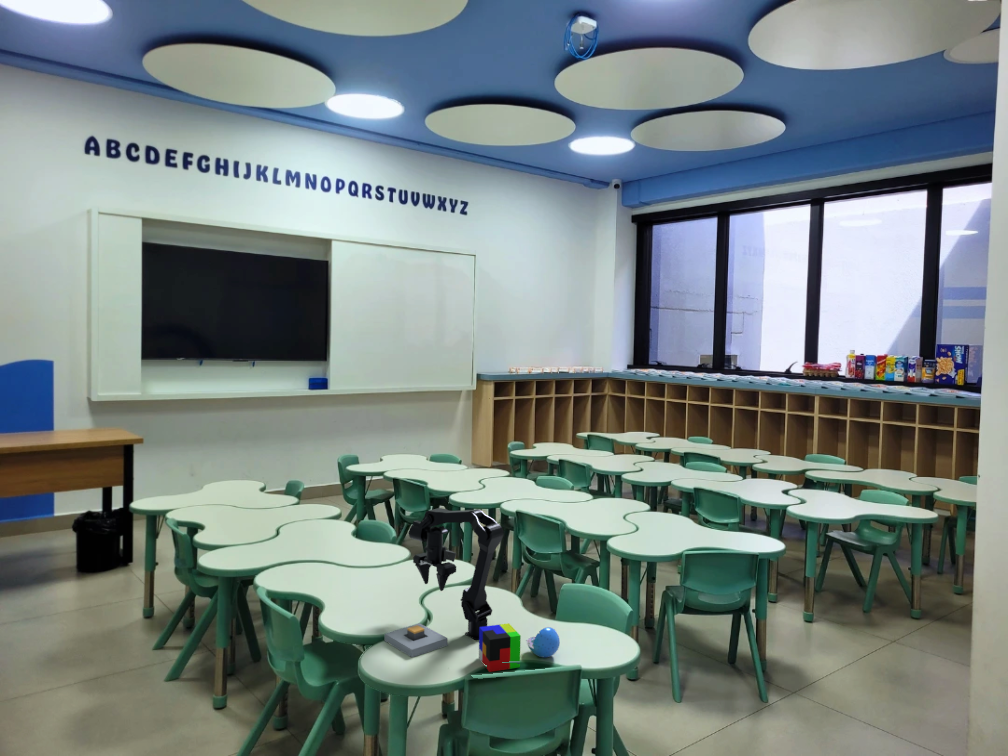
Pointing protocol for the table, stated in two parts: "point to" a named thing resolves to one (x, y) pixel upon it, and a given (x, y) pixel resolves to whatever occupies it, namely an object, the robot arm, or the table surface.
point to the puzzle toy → (499, 646)
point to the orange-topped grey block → (415, 633)
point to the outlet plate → (417, 647)
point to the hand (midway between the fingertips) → (433, 587)
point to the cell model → (544, 643)
